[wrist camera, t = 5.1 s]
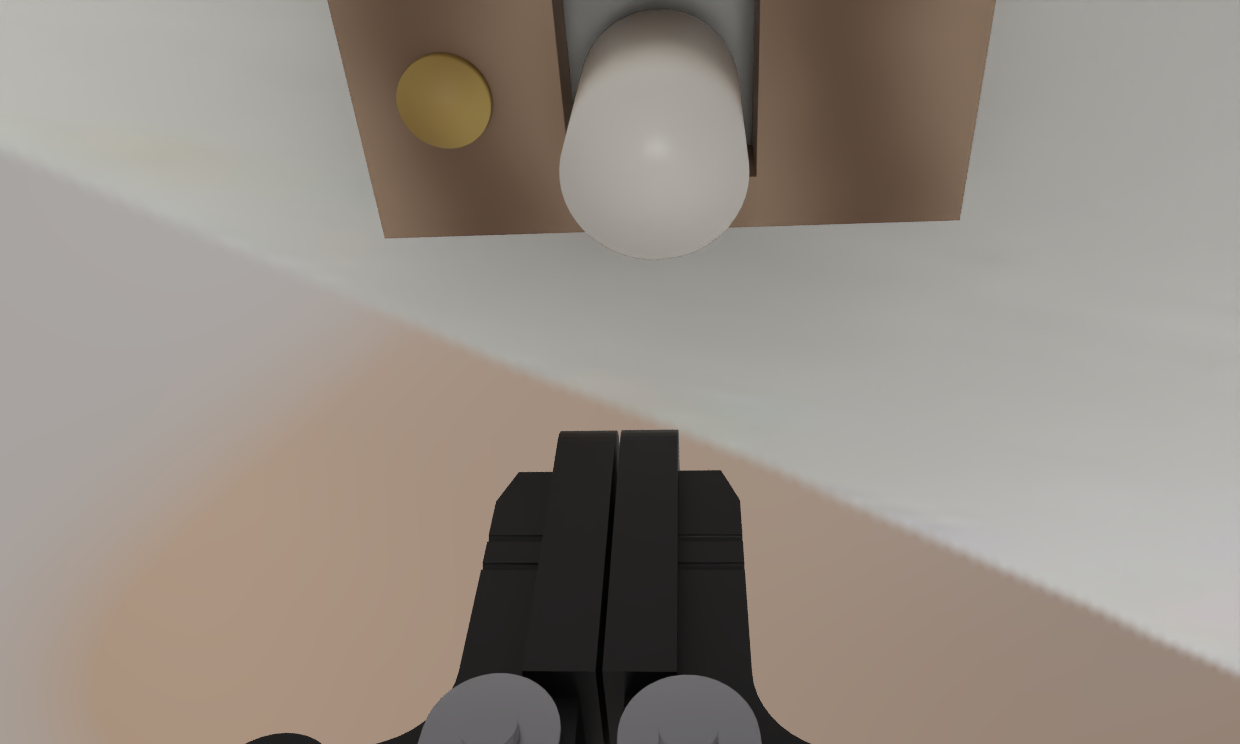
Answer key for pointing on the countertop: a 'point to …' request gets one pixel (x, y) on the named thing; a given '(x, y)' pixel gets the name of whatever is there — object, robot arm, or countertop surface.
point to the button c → (656, 138)
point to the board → (782, 111)
